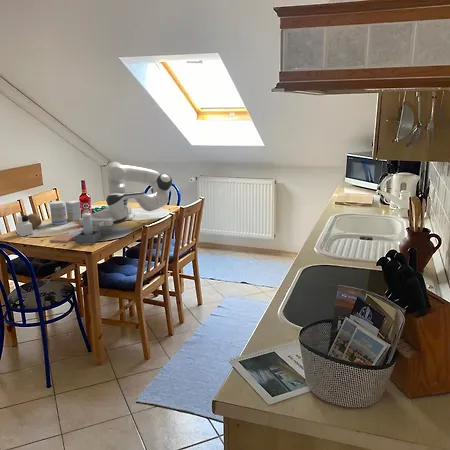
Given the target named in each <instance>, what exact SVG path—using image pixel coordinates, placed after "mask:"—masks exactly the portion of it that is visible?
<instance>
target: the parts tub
mask: <svg viewBox="0 0 450 450" xmlns="http://www.w3.org/2000/svg"><path fill="white" fill-rule="evenodd" d="M75 235H76V238H75V243H76V244H91V245H93V244H96V243H97V242H98V241H100V240H101V239H102V231H101V230H93V236H87V235H84V230H82V231H80V232H79V233H77V234H75ZM99 239H100V240H99Z"/></svg>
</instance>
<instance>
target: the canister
mask: <svg viewBox="0 0 450 450" xmlns="http://www.w3.org/2000/svg"><path fill="white" fill-rule="evenodd" d="M91 213H92V212H86V213H82V219H83V226H82V227H83V231H84V235H87V236H93V231H94V230H93V229H94V228H93V226H92V218H91Z"/></svg>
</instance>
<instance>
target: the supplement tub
mask: <svg viewBox="0 0 450 450" xmlns="http://www.w3.org/2000/svg"><path fill="white" fill-rule="evenodd" d="M49 210H50V218H51V224H52V225H53V224H54V225H53V226H61V225H65V224H67V223H68V219H67V210H66V202H65V201H64V200H55V201H50V202H49Z"/></svg>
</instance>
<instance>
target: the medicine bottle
mask: <svg viewBox="0 0 450 450" xmlns="http://www.w3.org/2000/svg"><path fill="white" fill-rule="evenodd" d="M15 228H16V229H15V230H16V234H17V235H18V236H20V237H26V235H28V236H31V235H30V234H32V235H34V232H33V231H34V229H33V228H32V223H30V222H29V218H28V215H26V214H21V215H19V216H17V223H15Z"/></svg>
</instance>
